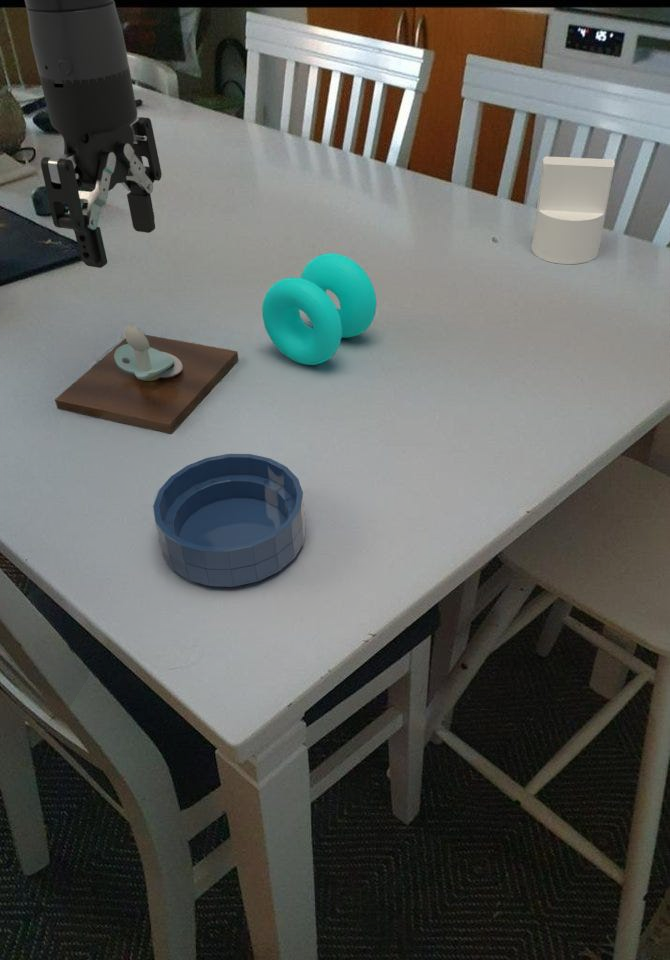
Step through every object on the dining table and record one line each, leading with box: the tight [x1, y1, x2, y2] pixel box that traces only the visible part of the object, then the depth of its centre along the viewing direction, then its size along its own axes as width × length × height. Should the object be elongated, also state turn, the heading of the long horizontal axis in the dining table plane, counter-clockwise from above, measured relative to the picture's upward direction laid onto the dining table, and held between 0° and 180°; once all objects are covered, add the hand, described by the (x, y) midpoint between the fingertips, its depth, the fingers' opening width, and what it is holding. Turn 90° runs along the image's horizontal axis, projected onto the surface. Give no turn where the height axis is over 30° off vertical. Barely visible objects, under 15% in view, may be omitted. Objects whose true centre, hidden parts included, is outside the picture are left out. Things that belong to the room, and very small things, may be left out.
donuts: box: [261, 252, 377, 366], centre depth 91 cm, size 10×10×10 cm
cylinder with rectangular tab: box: [531, 156, 616, 265], centre depth 108 cm, size 9×9×12 cm
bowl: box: [152, 453, 307, 588], centre depth 68 cm, size 12×12×4 cm
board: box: [54, 334, 239, 435], centre depth 89 cm, size 15×14×1 cm
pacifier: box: [114, 323, 183, 381], centre depth 87 cm, size 7×6×6 cm
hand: (121, 247), depth 79 cm, fingers open, 8 cm apart
